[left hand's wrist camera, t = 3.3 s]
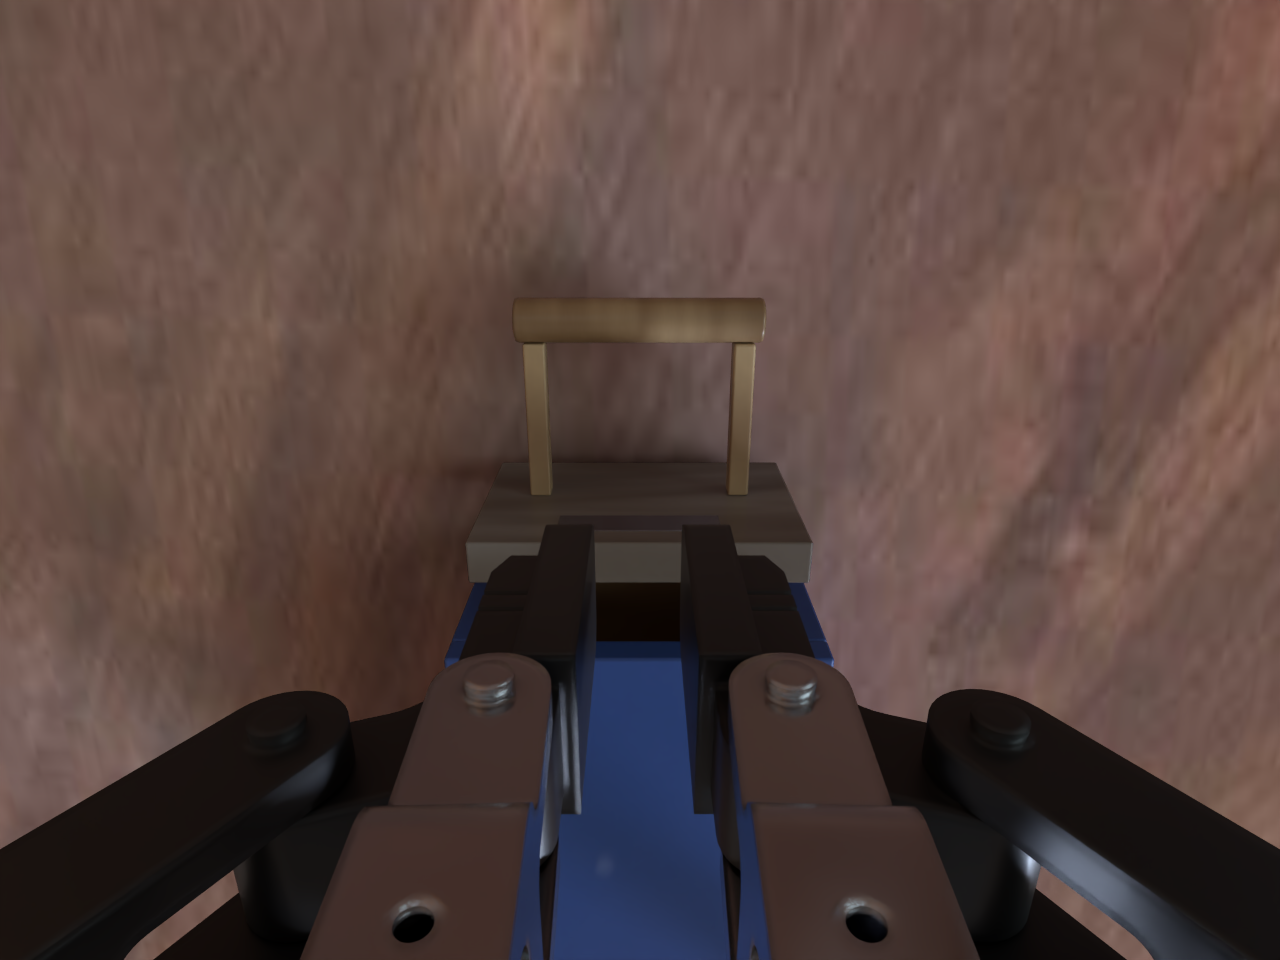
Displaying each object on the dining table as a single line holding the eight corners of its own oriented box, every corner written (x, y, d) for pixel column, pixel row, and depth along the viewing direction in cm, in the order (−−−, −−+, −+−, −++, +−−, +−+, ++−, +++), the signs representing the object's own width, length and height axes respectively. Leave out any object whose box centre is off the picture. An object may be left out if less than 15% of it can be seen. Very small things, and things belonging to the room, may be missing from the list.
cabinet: (494, 529, 28) (442, 658, 20) (784, 529, 28) (835, 658, 20) (522, 904, 34) (491, 1103, 27) (756, 904, 35) (787, 1103, 27)
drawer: (490, 285, 24) (444, 320, 18) (788, 284, 24) (833, 320, 18) (529, 850, 32) (505, 994, 27) (749, 850, 32) (772, 994, 27)
